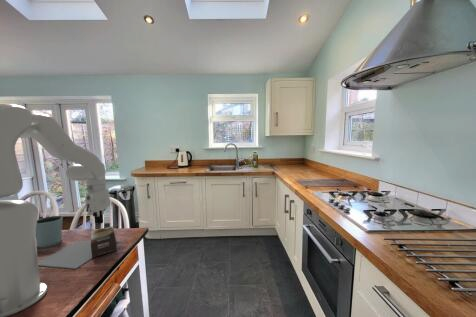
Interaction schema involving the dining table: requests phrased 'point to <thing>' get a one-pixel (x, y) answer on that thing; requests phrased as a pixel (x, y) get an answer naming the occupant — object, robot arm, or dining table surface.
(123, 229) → the dining table surface
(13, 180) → the robot arm
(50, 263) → the mat
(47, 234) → the teal planter pot
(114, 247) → the coffee box
